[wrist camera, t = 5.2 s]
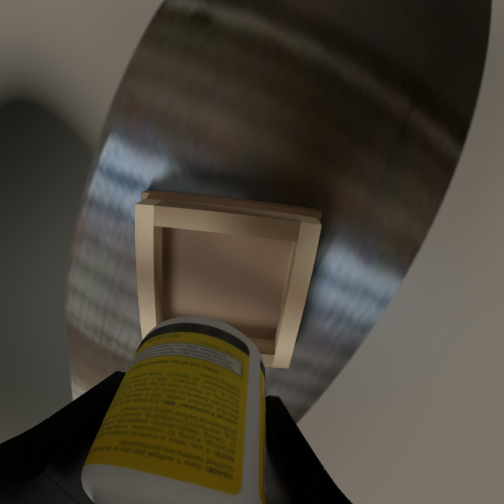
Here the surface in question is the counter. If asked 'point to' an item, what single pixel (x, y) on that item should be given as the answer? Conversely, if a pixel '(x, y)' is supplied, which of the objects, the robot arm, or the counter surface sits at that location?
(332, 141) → the counter surface
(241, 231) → the jig cradle
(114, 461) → the supplement bottle
